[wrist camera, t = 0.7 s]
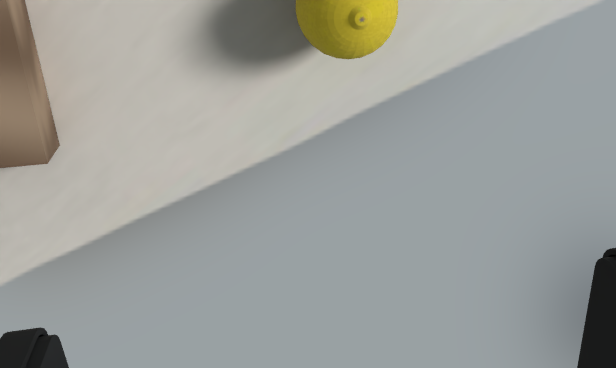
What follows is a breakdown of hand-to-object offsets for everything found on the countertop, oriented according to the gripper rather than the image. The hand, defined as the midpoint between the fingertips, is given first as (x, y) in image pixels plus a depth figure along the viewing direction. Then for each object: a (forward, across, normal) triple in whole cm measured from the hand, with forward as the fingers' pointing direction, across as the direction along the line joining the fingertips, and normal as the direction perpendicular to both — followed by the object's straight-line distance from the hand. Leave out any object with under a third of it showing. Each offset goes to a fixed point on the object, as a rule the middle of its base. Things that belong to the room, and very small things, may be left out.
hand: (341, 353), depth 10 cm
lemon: (+30, -5, -2) cm, 30 cm away
